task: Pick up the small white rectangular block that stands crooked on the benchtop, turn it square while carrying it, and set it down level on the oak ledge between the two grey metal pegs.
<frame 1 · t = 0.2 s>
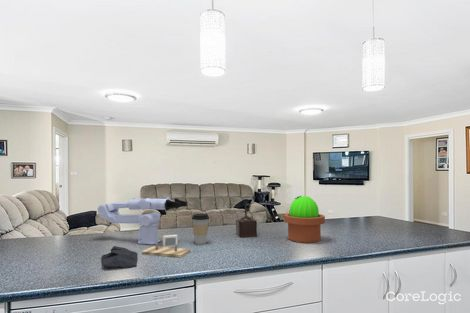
hand: (183, 204, 151), 21 cm above the worktop, tool horizontal, fingers open, 7 cm apart
pepper mill: (245, 234, 176), on the worktop
ledge: (166, 252, 137), on the worktop
white rectangular block: (170, 246, 148), on the worktop
potted cactus: (304, 239, 163), on the worktop
cast iron trivet: (119, 262, 124), on the worktop
coffee cup: (200, 243, 155), on the worktop
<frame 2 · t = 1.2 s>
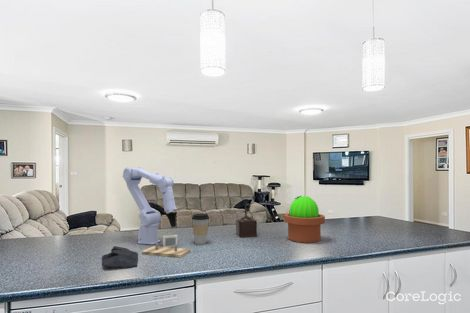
hand: (173, 226, 148), 10 cm above the worktop, tool pointing down, fingers open, 7 cm apart
nothing on the worktop moved.
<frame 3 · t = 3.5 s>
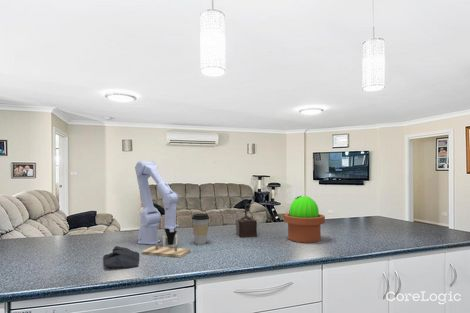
hand: (170, 243, 148), 1 cm above the worktop, tool pointing down, fingers closed on white rectangular block, 3 cm apart
white rectangular block: (170, 246, 148), on the worktop, touching gripper
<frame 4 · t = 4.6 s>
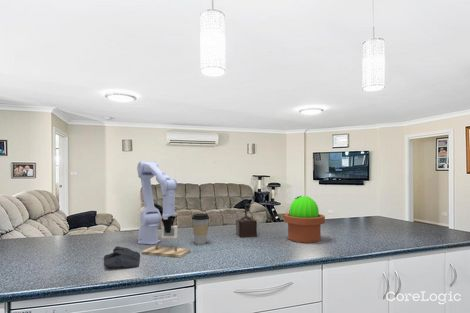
hand: (168, 232, 142), 9 cm above the worktop, tool pointing down, fingers closed on white rectangular block, 3 cm apart
white rectangular block: (169, 237, 142), point 6 cm above the worktop, touching gripper
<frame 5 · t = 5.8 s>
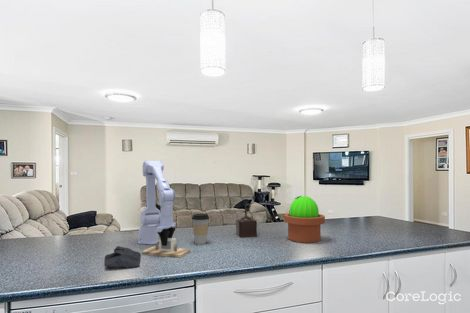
hand: (166, 244, 137), 4 cm above the worktop, tool pointing down, fingers closed on white rectangular block, 3 cm apart
white rectangular block: (167, 250, 136), point 1 cm above the worktop, touching gripper, ledge
when the fingers open (4 cm above the worktop, at t = 6.5 s): white rectangular block stays where it is, resting on ledge.
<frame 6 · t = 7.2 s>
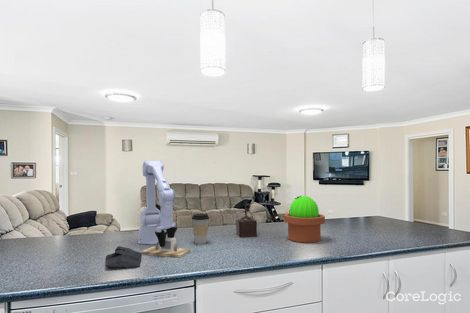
hand: (166, 244, 137), 4 cm above the worktop, tool pointing down, fingers open, 7 cm apart
white rectangular block: (167, 250, 136), point 1 cm above the worktop, touching ledge
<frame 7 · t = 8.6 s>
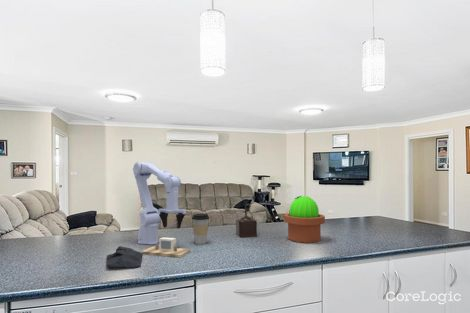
hand: (171, 227, 146), 10 cm above the worktop, tool pointing down, fingers open, 7 cm apart
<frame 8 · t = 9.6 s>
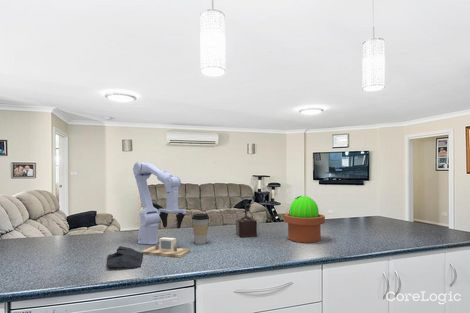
hand: (171, 227, 146), 10 cm above the worktop, tool pointing down, fingers open, 7 cm apart
at the end: white rectangular block 0.7 cm off-centre on the ledge, point 1.2 cm above the ledge's base; white rectangular block tilted 0°; the gripper is holding nothing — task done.
